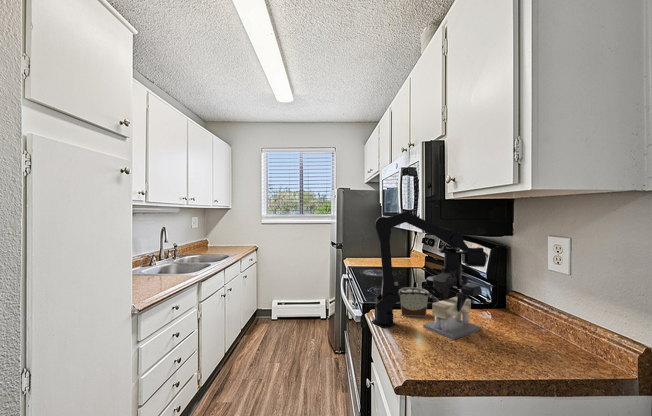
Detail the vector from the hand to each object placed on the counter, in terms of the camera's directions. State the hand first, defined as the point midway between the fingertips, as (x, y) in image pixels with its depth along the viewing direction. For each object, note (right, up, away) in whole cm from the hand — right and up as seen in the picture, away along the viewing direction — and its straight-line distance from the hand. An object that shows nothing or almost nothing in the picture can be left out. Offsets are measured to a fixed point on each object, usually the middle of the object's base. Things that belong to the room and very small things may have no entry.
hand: (451, 309), depth 108 cm
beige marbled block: (0, -1, 0) cm, 1 cm away
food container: (-10, -7, +15) cm, 19 cm away
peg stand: (0, -7, 0) cm, 7 cm away
